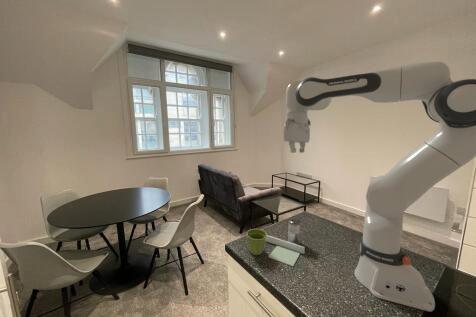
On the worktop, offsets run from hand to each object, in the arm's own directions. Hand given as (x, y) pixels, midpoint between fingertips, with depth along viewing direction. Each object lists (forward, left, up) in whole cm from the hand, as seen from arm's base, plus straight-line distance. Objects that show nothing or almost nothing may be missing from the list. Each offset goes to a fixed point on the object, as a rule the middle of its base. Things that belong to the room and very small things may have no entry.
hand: (297, 152), depth 85 cm
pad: (+2, +6, -46) cm, 47 cm away
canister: (+2, -7, -46) cm, 47 cm away
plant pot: (+14, +10, -46) cm, 50 cm away
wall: (+5, -1, -46) cm, 46 cm away
